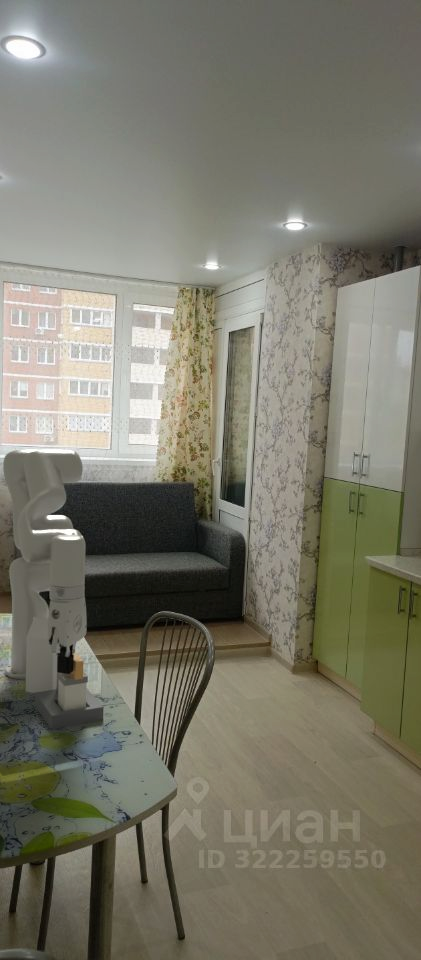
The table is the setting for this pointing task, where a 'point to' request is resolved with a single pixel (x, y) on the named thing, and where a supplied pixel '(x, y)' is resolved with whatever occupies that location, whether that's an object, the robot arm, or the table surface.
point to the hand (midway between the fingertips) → (65, 672)
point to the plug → (71, 692)
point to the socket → (57, 718)
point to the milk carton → (40, 659)
